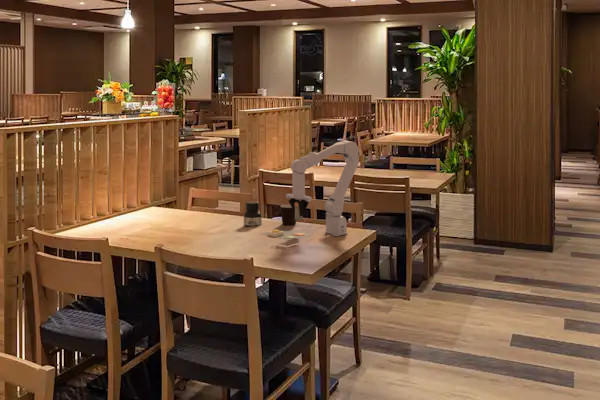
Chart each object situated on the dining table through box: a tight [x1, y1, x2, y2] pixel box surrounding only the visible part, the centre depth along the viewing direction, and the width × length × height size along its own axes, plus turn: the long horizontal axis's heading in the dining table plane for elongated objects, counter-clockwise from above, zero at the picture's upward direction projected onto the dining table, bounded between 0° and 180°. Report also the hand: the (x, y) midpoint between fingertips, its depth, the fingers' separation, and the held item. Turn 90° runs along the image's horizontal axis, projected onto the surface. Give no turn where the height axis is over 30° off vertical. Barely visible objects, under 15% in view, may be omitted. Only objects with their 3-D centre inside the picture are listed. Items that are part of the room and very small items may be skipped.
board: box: [261, 227, 314, 241], centre depth 296 cm, size 19×16×2 cm
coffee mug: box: [280, 204, 297, 227], centre depth 319 cm, size 12×9×10 cm
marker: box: [295, 202, 304, 221], centre depth 293 cm, size 4×4×8 cm
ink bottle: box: [243, 200, 263, 228], centre depth 317 cm, size 10×9×12 cm
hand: (298, 215), depth 293 cm, fingers closed on marker, 4 cm apart
